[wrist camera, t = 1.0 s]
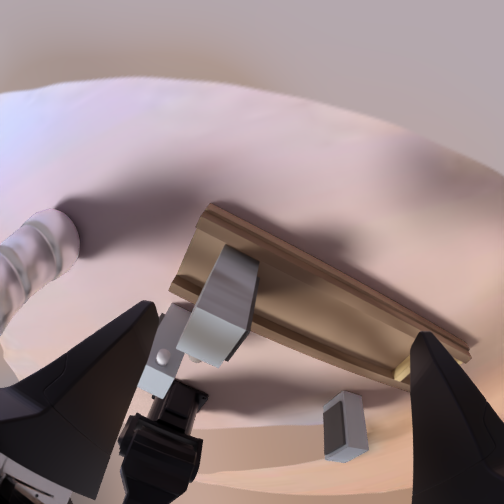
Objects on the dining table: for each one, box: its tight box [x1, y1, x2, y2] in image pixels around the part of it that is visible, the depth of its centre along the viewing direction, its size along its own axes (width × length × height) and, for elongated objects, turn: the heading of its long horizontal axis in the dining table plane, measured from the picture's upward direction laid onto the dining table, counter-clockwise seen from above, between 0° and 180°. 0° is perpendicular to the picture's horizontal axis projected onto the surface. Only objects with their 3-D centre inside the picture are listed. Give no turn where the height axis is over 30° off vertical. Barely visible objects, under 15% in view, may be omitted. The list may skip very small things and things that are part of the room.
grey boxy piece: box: [323, 390, 369, 463], centre depth 29 cm, size 3×5×8 cm, turn 153°
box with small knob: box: [137, 303, 191, 399], centre depth 25 cm, size 3×5×8 cm, turn 153°
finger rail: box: [169, 203, 472, 392], centre depth 22 cm, size 8×32×9 cm, turn 63°
